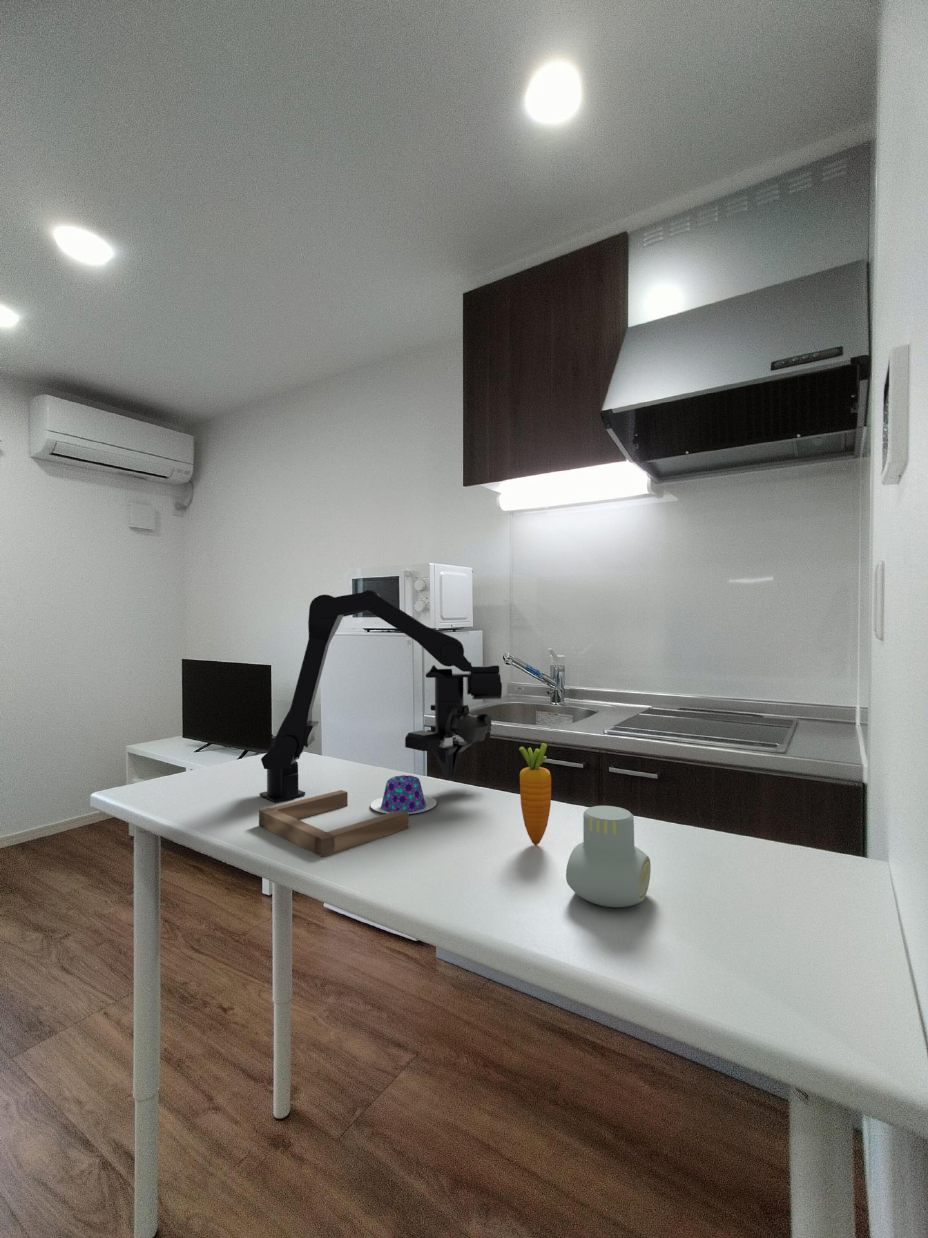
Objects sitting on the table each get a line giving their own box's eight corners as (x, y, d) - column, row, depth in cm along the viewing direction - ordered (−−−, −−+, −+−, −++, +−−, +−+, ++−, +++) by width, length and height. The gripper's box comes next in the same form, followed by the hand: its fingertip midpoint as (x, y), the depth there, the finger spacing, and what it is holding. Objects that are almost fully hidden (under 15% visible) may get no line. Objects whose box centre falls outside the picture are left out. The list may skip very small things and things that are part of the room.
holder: (258, 825, 93) (258, 810, 93) (341, 803, 104) (341, 790, 104) (322, 857, 80) (322, 839, 80) (408, 827, 91) (408, 812, 91)
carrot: (513, 848, 83) (513, 745, 83) (526, 837, 87) (525, 739, 87) (546, 854, 80) (545, 748, 81) (557, 842, 85) (556, 742, 85)
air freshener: (634, 926, 61) (633, 832, 61) (561, 908, 65) (560, 820, 65) (653, 885, 70) (652, 805, 70) (588, 872, 74) (587, 796, 75)
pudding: (361, 816, 98) (361, 786, 98) (381, 796, 110) (381, 769, 110) (428, 820, 96) (428, 789, 96) (442, 799, 108) (442, 771, 108)
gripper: (444, 708, 100) (444, 797, 99) (510, 698, 113) (511, 777, 113) (403, 703, 107) (403, 785, 107) (469, 694, 121) (470, 768, 121)
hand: (449, 779), depth 112 cm, fingers closed
